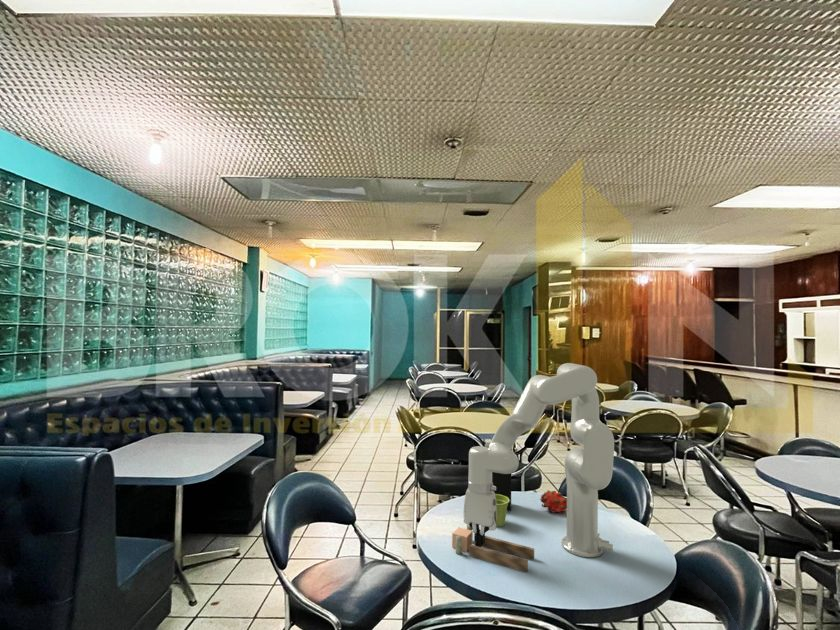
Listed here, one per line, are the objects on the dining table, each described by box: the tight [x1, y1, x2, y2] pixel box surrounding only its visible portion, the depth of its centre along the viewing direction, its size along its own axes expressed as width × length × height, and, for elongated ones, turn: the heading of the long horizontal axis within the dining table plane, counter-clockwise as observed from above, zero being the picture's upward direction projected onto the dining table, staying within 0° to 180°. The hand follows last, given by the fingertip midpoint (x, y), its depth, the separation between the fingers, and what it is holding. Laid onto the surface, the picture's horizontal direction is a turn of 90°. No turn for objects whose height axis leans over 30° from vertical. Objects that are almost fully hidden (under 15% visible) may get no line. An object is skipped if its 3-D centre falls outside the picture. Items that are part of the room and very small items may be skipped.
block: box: [451, 526, 474, 552], centre depth 138 cm, size 5×5×4 cm
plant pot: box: [495, 494, 510, 527], centre depth 155 cm, size 9×9×9 cm
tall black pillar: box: [492, 448, 513, 512], centre depth 170 cm, size 8×8×28 cm
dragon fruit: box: [539, 490, 567, 514], centre depth 166 cm, size 8×8×12 cm
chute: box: [455, 524, 535, 573], centre depth 132 cm, size 22×11×5 cm, turn 62°
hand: (479, 545), depth 135 cm, fingers closed
